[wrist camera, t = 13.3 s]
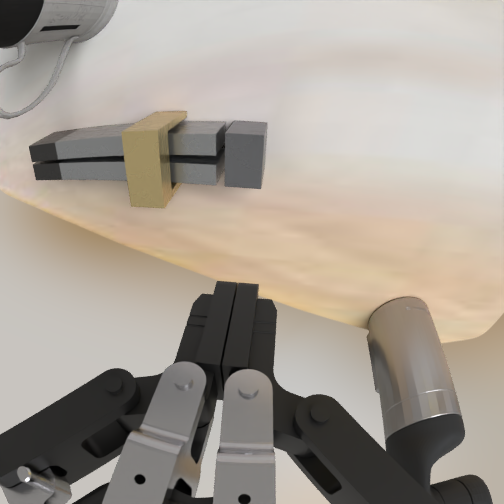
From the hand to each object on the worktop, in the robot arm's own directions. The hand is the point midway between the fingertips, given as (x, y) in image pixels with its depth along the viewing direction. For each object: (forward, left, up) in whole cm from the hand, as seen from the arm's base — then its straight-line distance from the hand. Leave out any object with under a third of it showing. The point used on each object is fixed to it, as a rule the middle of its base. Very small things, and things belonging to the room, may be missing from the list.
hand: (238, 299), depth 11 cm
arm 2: (-4, +13, -19) cm, 24 cm away
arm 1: (-1, +14, -19) cm, 24 cm away
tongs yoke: (0, +2, -20) cm, 20 cm away
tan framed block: (-2, +9, -19) cm, 21 cm away
